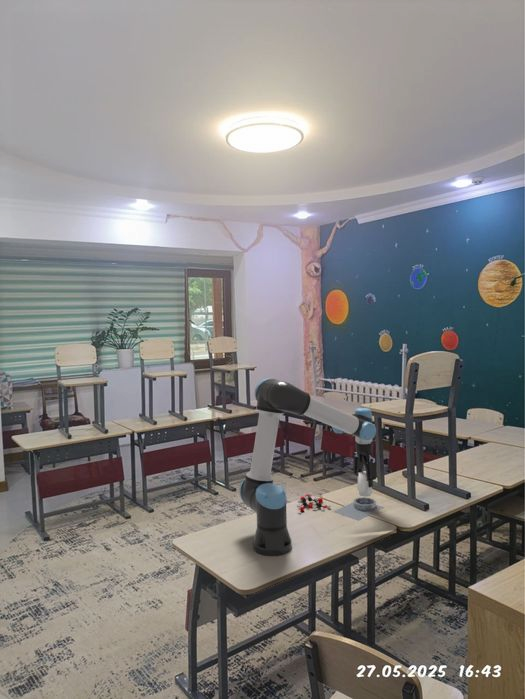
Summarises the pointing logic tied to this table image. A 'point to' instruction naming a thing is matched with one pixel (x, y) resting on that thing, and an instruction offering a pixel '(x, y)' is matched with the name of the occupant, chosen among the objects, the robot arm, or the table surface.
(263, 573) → the table surface
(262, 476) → the robot arm
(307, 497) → the molecular model
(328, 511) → the table surface
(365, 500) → the duct collar
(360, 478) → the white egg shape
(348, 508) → the board
